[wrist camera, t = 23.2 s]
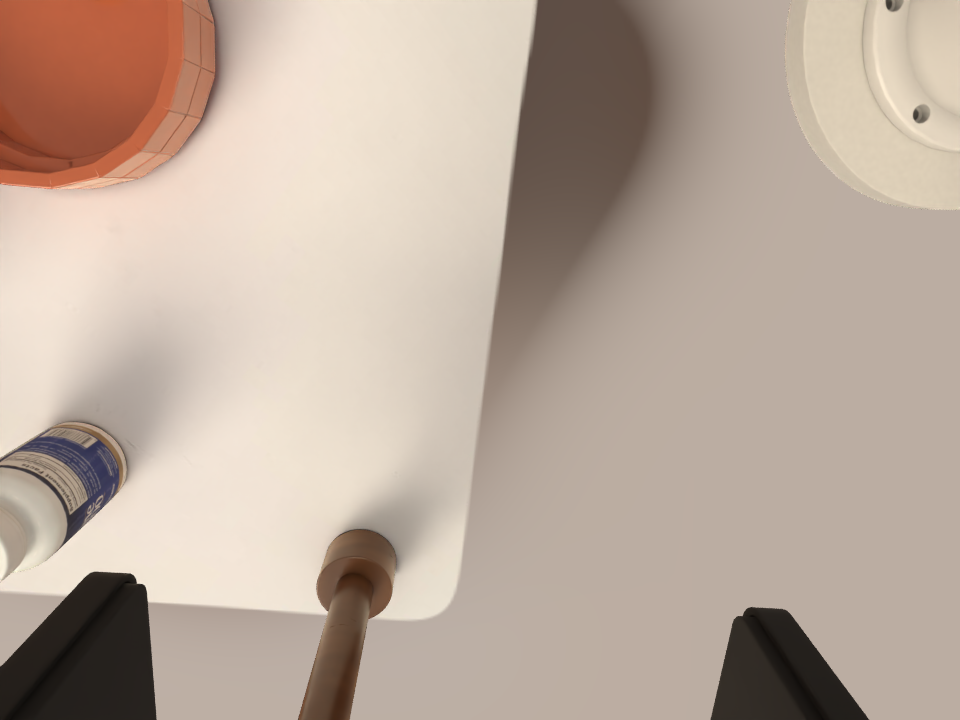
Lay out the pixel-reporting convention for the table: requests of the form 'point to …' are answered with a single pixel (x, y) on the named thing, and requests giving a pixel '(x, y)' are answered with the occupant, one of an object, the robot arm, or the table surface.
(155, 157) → the bowl
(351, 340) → the table surface
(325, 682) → the wooden pestle
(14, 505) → the pill bottle
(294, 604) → the table surface
